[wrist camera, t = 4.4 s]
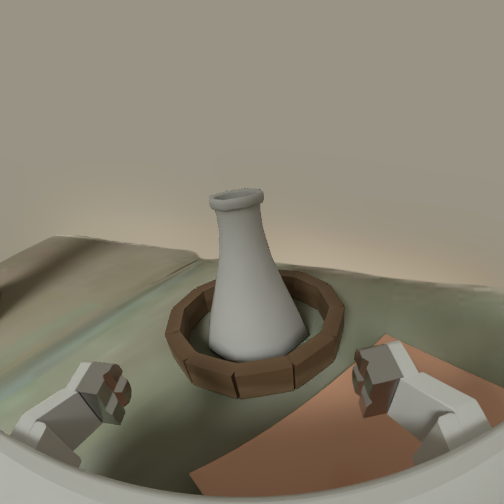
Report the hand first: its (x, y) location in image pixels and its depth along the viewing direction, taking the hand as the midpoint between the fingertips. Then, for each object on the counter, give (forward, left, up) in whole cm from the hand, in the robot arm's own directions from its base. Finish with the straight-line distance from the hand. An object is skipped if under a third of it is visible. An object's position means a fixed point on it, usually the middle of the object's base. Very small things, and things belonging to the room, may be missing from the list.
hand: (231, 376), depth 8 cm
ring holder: (-8, +6, -6) cm, 11 cm away
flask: (-8, +6, -6) cm, 12 cm away
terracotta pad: (+5, +4, -6) cm, 9 cm away
